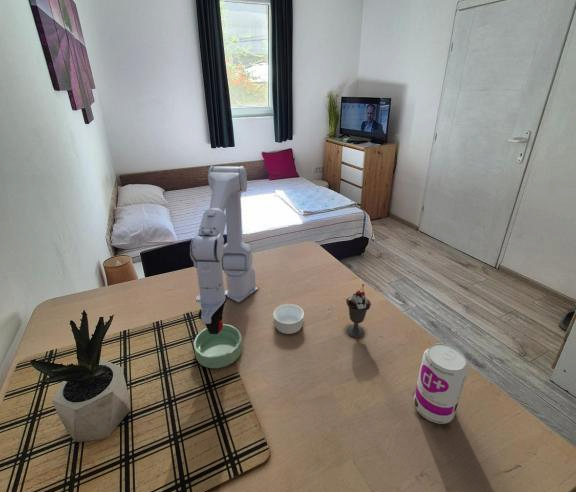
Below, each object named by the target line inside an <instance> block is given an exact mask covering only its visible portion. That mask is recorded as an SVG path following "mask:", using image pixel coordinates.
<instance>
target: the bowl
mask: <svg viewBox="0 0 576 492" xmlns="http://www.w3.org/2000/svg"><path fill="white" fill-rule="evenodd" d="M193 348H194V349H193V350H194V356H195V359H196V361H197V363H198V364H199V365H201V366H202V367H205V368H208V369H220V368H225V367H227V366H229V365H231V364H233V363H235V362H236V361H237V360H238V359H239V358H240V355H241V354H242V351H243V340H242V334H241V331H240V330H239V329H238V328H237V327H235V326H234V325H232V324H227V323H223V328H222V330H221V331H220V332H219V333H218V334H210V333H209V331H208V329H207V327H204V328H203V329H202V330H201V331H199V332H198V334H197V335H196V336H195V338H194V341H193Z"/></svg>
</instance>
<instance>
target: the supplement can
mask: <svg viewBox="0 0 576 492" xmlns="http://www.w3.org/2000/svg"><path fill="white" fill-rule="evenodd" d="M468 370H469V367H468V364H467V360H466V357H465V355H464V354H463V353H462V352H461V351H460V350H459V349H457V348H456V347H455V346H452V345H450V344H446V343H440V342H439V343H438V342H437V343H433V344H431V345H430V346H429V347H428V348H427V349H426V350H424V352H423V355H422V359H421V364H420V368H419V372H418V377H417V382H416V387H415V391H414V396H413V405H414V406H415V409H416V410H417V412H418V413H419V414H420V415H421V416H422V417H423V418H424V419H426V420H428V421H430V422H433V423H435V424H438V425H439V424H441V425H442V424H443V425H446V424H448V423H450V422H451V421H452V420H454V418H455V415H456V411H457V409H458V405H459V402H460V398H461V394H462V392H463V388H464V385H465V381H466V378H467V376H468Z"/></svg>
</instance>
